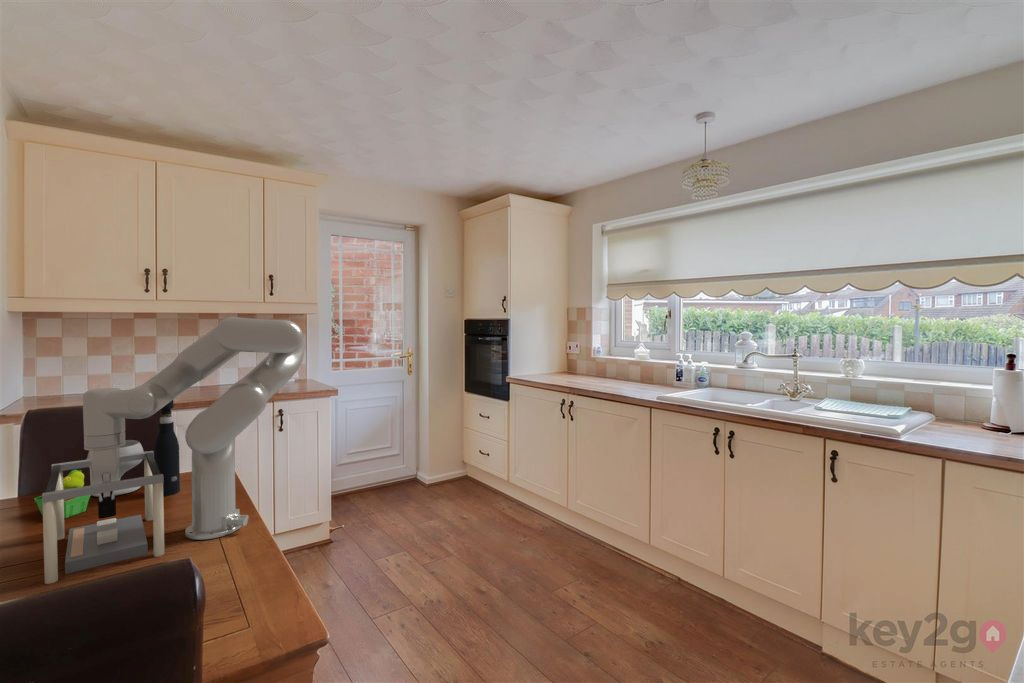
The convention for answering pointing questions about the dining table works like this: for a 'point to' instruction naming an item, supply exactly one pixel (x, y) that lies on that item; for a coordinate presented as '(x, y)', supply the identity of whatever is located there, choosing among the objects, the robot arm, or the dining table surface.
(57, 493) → the rectangular top frame
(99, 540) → the pale grey block
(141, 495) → the dining table surface
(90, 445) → the robot arm
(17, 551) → the dining table surface
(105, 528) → the beige small block
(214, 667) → the dining table surface
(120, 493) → the chalice
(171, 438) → the dark water bottle
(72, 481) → the fruit basket
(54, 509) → the four-post gantry frame
